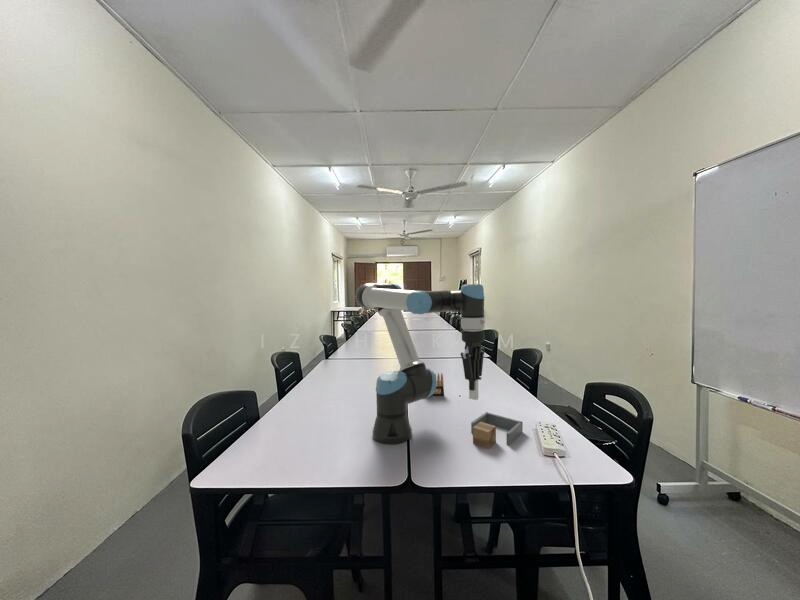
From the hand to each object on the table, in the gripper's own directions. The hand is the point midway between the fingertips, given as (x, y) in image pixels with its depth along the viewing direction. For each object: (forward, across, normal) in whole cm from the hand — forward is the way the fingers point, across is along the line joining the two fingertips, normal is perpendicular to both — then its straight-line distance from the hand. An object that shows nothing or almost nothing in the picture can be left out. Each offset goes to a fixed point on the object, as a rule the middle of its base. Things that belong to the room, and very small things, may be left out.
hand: (473, 398), depth 104 cm
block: (+19, +8, 0) cm, 20 cm away
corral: (+18, +18, 0) cm, 26 cm away
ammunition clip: (+19, +37, +43) cm, 60 cm away
